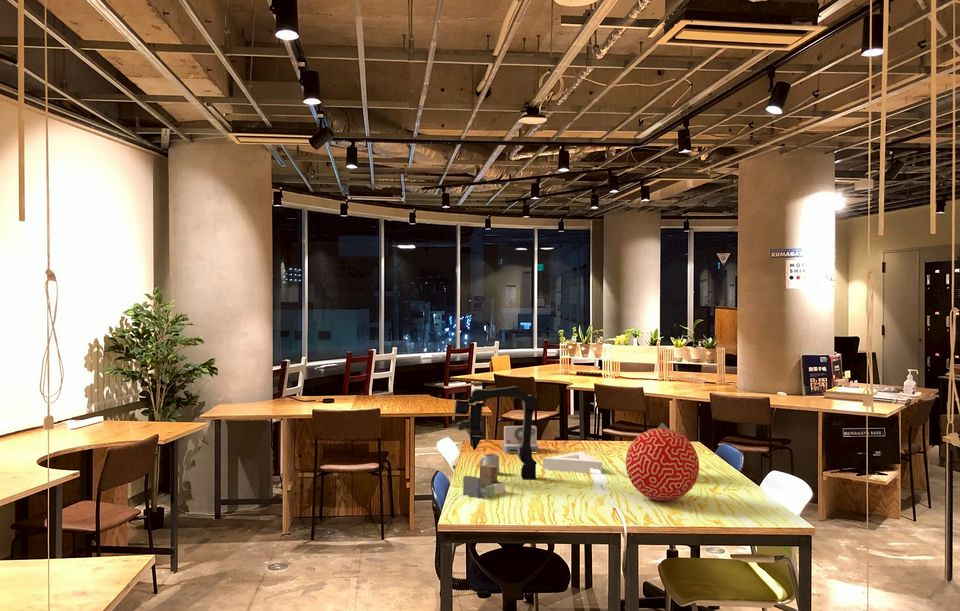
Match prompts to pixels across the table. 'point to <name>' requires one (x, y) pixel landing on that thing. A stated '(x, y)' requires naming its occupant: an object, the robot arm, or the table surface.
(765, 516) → the table surface
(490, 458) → the cup
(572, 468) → the triangular ruler
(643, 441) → the ball
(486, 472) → the gauge carriage
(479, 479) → the grey square slab
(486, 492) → the gauge base
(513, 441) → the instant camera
